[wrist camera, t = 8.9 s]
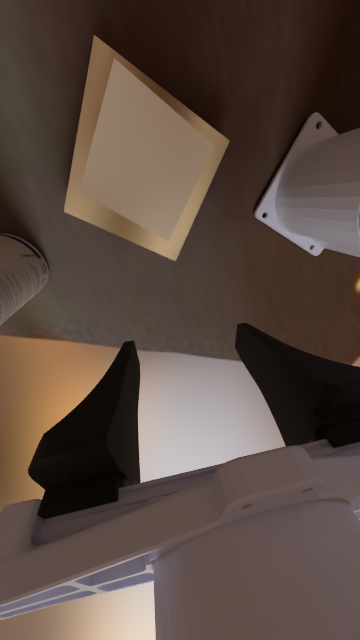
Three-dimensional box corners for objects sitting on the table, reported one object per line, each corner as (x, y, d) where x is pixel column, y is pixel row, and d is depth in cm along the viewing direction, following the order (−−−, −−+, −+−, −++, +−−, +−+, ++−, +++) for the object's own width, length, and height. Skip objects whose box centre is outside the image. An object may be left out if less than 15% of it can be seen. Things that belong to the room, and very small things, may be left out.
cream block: (191, 162, 14) (214, 145, 9) (160, 230, 16) (168, 241, 11) (123, 108, 12) (114, 57, 8) (97, 194, 14) (78, 191, 9)
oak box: (215, 150, 16) (229, 140, 13) (171, 253, 20) (175, 261, 17) (103, 67, 13) (93, 34, 10) (75, 209, 16) (63, 211, 14)
